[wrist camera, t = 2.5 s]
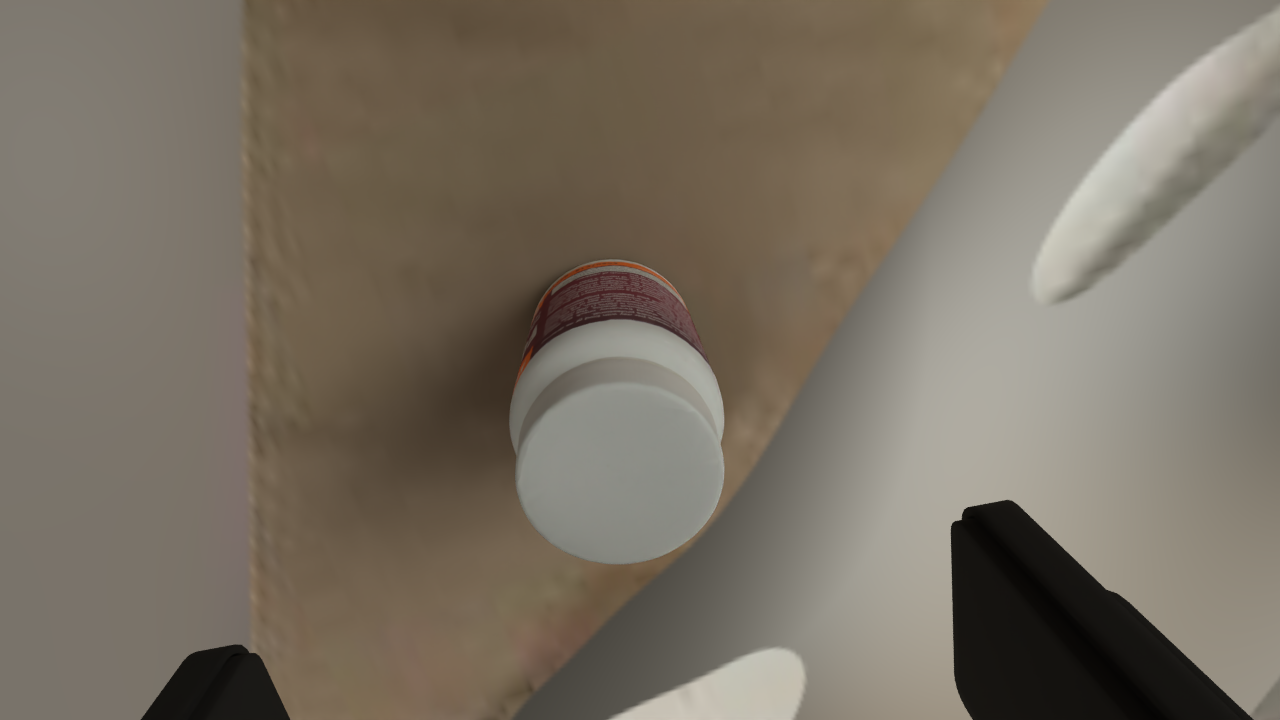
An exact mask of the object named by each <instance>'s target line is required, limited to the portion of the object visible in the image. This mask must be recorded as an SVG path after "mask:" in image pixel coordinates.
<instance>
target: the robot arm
mask: <svg viewBox="0 0 1280 720" xmlns="http://www.w3.org/2000/svg"><path fill="white" fill-rule="evenodd" d="M951 554H952V555H951V558H952V598H953V599H952V600H953V640H954V676H955V682H956V686H957V690H958V693H959V695H960V698H961V700H962V702H963V704H964V706H965V708H966V709H967V711H968V713H969V714H970V716H971V717H972V719H973V720H1253V719H1252V718H1251V717H1250V716H1249V715H1248V714H1247V713H1246V712H1245V711H1244V710H1243V709H1241V708H1240V707H1239V706H1238V705H1237V704H1236V703H1235V702H1234V701H1233V700H1232V699H1231V698H1230V697H1229V696H1227V695H1226V693H1225V692H1224V691H1222V690H1221V689H1220V688H1219V687H1218V686H1217V685H1216V684H1215V683H1214V682H1213V681H1212V680H1211V679H1210V678H1209V677H1208V676H1207V675H1205V674H1204V673H1203V672H1202V671H1201V670H1200V669H1199V668H1198V667H1197V666H1196V665H1195V664H1194V663H1193V662H1192V661H1191V660H1190V659H1188V658H1187V657H1186V656H1185V655H1184V654H1183V653H1182V652H1181V651H1180V650H1179V649H1178V648H1177V647H1176V646H1175V645H1174V644H1173V643H1172V642H1170V641H1169V640H1168V639H1167V638H1166V637H1165V636H1164V635H1163V634H1162V633H1161V632H1160V631H1159V630H1158V629H1157V628H1156V627H1155V626H1153V625H1152V624H1151V623H1150V622H1149V621H1148V620H1147V619H1146V618H1145V617H1144V616H1143V615H1142V614H1141V613H1140V612H1139V611H1138V610H1137V609H1135V608H1134V607H1133V606H1132V605H1131V604H1130V603H1129V602H1128V601H1127V600H1125V599H1124V598H1123V597H1121V596H1120V595H1118V594H1117V593H1114V592H1111V591H1108V590H1106V589H1105V588H1104V587H1103V586H1102V585H1101V584H1100V583H1099V582H1098V581H1097V580H1096V579H1095V578H1094V577H1092V576H1091V575H1090V574H1089V573H1088V572H1087V571H1086V570H1085V569H1084V568H1083V567H1082V566H1081V565H1080V564H1079V563H1078V562H1077V561H1076V560H1075V559H1074V558H1073V557H1072V556H1071V555H1070V554H1069V553H1067V552H1066V551H1065V550H1064V549H1063V548H1062V547H1061V546H1060V545H1059V544H1058V543H1057V542H1056V541H1055V540H1054V539H1053V538H1052V537H1051V536H1050V535H1048V533H1047V532H1046V531H1044V530H1043V529H1042V528H1041V527H1040V526H1039V525H1038V524H1037V523H1036V522H1035V521H1034V520H1033V519H1032V518H1031V517H1030V516H1029V515H1028V514H1027V513H1026V512H1024V510H1023V509H1022V508H1021V507H1019V506H1018V505H1017V504H1016V503H1014V502H1013V501H1010V500H1005V501H999V502H994V503H989V504H983V505H978V506H972V507H968V508H966V509H964V512H963V514H962V520H959V521H955V522H953V523H952V526H951ZM141 720H290V718H289V716H288V714H287V712H286V710H285V708H284V705H283V703H282V701H281V699H280V697H279V695H278V693H277V691H276V688H275V686H274V684H273V682H272V680H271V678H270V676H269V674H268V671H267V669H266V667H265V665H264V663H263V661H262V659H261V658H260V656H259V655H257V654H256V653H249V651H248V650H247V649H246V648H245V647H243V646H242V645H230V646H225V647H219V648H214V649H209V650H203V651H198V652H195V653H193V654H191V655H189V656H188V657H187V658H186V659H185V660H184V661H183V662H182V664H181V665H180V666H179V668H178V669H177V671H176V672H175V673H174V675H173V676H172V677H171V679H170V680H169V682H168V683H167V684H166V686H165V687H164V689H163V690H162V691H161V693H160V694H159V696H158V697H157V698H156V700H155V701H154V702H153V704H152V705H151V706H150V708H149V709H148V711H147V712H146V713H145V715H144V716H143V718H142V719H141Z"/></svg>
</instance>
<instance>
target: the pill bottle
mask: <svg viewBox="0 0 1280 720" xmlns="http://www.w3.org/2000/svg"><path fill="white" fill-rule="evenodd" d="M509 427H510V434H511V440H512V444H513V447H514V450H515V453H516V456H517V457H516V466H515V482H516V490H517V494H518V497H519V501H520V504H521V506H522V508H523V510H524V512H525V514H526V516H527V518H528V519H529V521H530V522H531V524H532V525H533V526H534V528H535V529H536V530H537V531H538V532H539V533H540V534H541V535H542V536H543V537H544V538H545V539H546V540H548V541H549V542H550V543H551V544H553V545H554V546H555V547H557V548H559V549H560V550H562V551H564V552H566V553H568V554H570V555H573V556H575V557H578V558H581V559H584V560H588V561H592V562H598V563H604V564H631V563H637V562H644V561H648V560H651V559H654V558H658V557H661V556H663V555H665V554H667V553H669V552H671V551H673V550H675V549H676V548H678V547H680V546H681V545H683V544H684V543H685V542H687V541H688V540H690V539H691V538H692V537H693V536H694V535H696V534H697V532H698V531H699V530H700V529H701V528H702V527H703V526H704V525H705V524H706V522H707V521H708V519H709V518H710V516H711V515H712V514H713V512H714V510H715V508H716V506H717V504H718V501H719V498H720V495H721V491H722V487H723V482H724V459H723V453H722V448H721V444H720V443H721V439H722V435H723V431H724V409H723V402H722V397H721V393H720V389H719V386H718V383H717V380H716V377H715V375H714V373H713V371H712V369H711V366H710V364H709V361H708V359H707V356H706V354H705V352H704V349H703V346H702V344H701V341H700V338H699V336H698V334H697V332H696V328H695V326H694V324H693V321H692V319H691V317H690V314H689V311H688V309H687V307H686V305H685V303H684V301H683V300H682V298H681V296H680V294H679V293H678V292H677V290H676V289H675V288H674V287H673V285H672V284H671V283H670V282H669V281H668V280H666V279H665V278H664V277H663V276H661V275H660V274H659V273H657V272H656V271H654V270H652V269H650V268H648V267H646V266H644V265H641V264H639V263H635V262H631V261H626V260H618V259H606V260H597V261H593V262H588V263H585V264H582V265H579V266H577V267H575V268H573V269H572V270H570V271H568V272H566V273H565V274H563V275H562V276H561V277H559V278H558V279H557V280H556V281H555V282H554V283H553V284H552V285H551V286H550V287H549V288H548V290H547V291H546V292H545V294H544V295H543V297H542V298H541V300H540V302H539V304H538V306H537V308H536V311H535V313H534V317H533V320H532V323H531V327H530V331H529V334H528V337H527V341H526V345H525V348H524V352H523V356H522V361H521V365H520V368H519V371H518V375H517V380H516V383H515V387H514V391H513V396H512V401H511V406H510V416H509Z"/></svg>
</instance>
